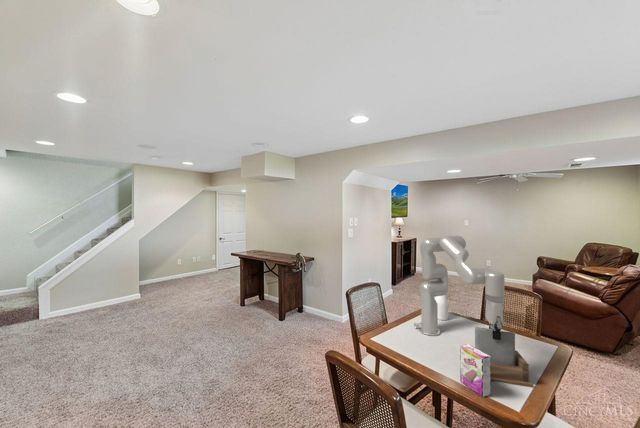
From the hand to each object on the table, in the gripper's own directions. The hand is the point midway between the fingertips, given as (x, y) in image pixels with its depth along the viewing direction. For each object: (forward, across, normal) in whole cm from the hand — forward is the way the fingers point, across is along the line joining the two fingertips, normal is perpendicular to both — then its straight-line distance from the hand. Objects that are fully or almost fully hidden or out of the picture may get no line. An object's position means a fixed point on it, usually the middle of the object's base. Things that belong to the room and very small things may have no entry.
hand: (494, 336), depth 125 cm
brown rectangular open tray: (+17, 0, 0) cm, 17 cm away
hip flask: (+15, 0, 0) cm, 15 cm away
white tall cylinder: (+17, -63, -15) cm, 67 cm away
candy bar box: (+17, +15, -12) cm, 26 cm away
